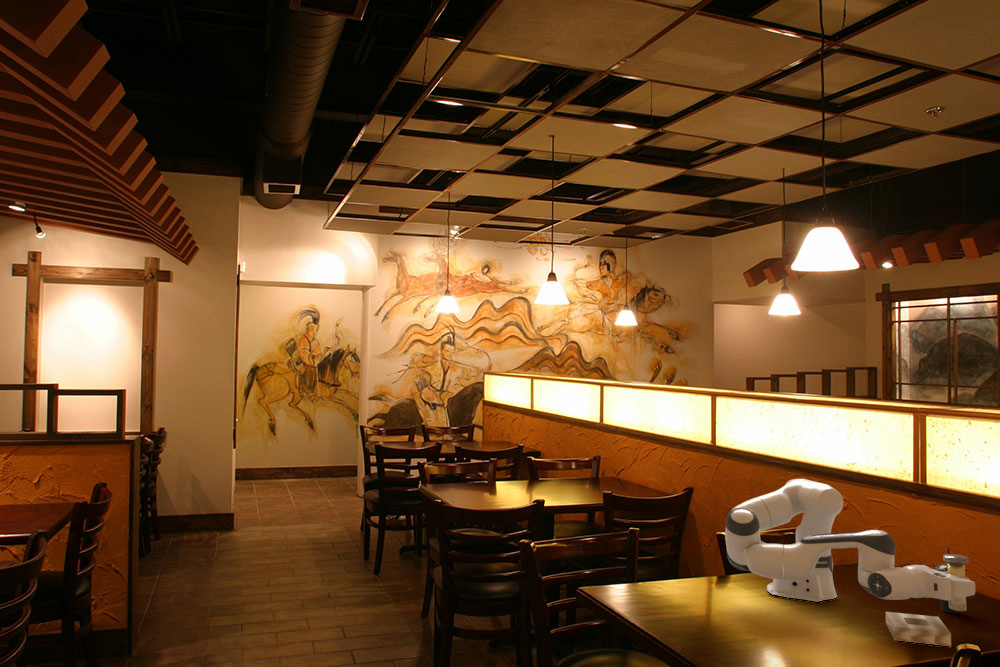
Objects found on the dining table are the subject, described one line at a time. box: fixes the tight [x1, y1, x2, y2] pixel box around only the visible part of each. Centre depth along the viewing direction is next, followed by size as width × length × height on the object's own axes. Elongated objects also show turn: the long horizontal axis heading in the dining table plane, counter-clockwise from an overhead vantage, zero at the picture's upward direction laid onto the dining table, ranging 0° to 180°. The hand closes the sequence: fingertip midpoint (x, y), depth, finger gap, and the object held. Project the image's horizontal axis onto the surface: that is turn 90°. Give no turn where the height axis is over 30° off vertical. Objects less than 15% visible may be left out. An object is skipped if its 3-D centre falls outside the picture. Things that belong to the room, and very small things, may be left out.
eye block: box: [885, 611, 952, 648], centre depth 208 cm, size 14×14×4 cm
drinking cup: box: [934, 547, 960, 614], centre depth 230 cm, size 8×8×20 cm
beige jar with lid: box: [942, 553, 970, 612], centre depth 213 cm, size 6×6×15 cm
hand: (958, 577), depth 213 cm, fingers closed on beige jar with lid, 4 cm apart
